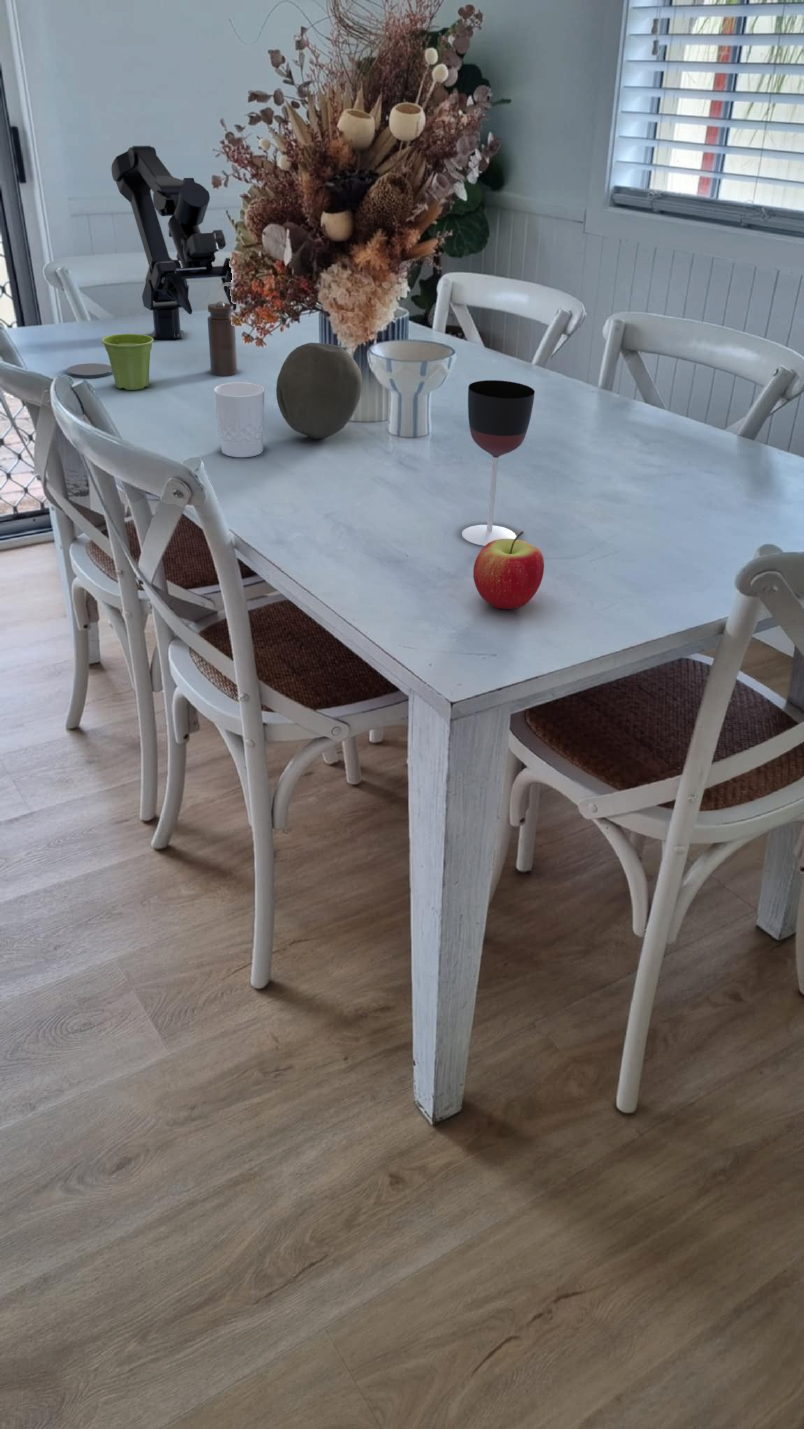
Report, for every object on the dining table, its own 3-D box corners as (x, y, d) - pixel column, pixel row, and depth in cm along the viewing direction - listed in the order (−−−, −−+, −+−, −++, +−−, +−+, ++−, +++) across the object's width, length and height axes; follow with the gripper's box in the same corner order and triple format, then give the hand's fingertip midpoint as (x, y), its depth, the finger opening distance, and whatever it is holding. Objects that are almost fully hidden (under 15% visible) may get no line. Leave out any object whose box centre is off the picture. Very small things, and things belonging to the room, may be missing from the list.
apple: (501, 626, 123) (509, 546, 118) (456, 598, 129) (461, 521, 124) (554, 609, 128) (563, 531, 122) (508, 583, 133) (515, 507, 128)
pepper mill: (211, 369, 214) (206, 298, 206) (237, 369, 214) (233, 298, 207) (210, 376, 209) (205, 304, 202) (237, 376, 210) (233, 304, 203)
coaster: (70, 366, 212) (70, 363, 212) (115, 366, 213) (115, 363, 213) (64, 378, 205) (63, 375, 204) (110, 378, 206) (110, 375, 205)
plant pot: (102, 381, 203) (96, 335, 199) (151, 377, 207) (146, 331, 202) (112, 395, 196) (107, 346, 192) (163, 390, 200) (159, 343, 195)
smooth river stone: (352, 451, 174) (353, 358, 166) (268, 444, 175) (265, 351, 167) (368, 426, 186) (369, 337, 177) (289, 419, 187) (287, 331, 179)
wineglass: (480, 519, 151) (491, 376, 140) (531, 535, 146) (547, 390, 136) (446, 534, 146) (455, 388, 135) (498, 552, 141) (511, 402, 130)
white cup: (257, 461, 168) (255, 398, 163) (210, 456, 170) (206, 393, 164) (272, 446, 175) (270, 384, 170) (227, 441, 176) (223, 380, 171)
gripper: (150, 216, 200) (175, 289, 198) (242, 212, 208) (267, 282, 206) (141, 254, 210) (164, 324, 208) (229, 249, 218) (253, 316, 216)
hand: (213, 311), depth 209 cm, fingers open, 9 cm apart
